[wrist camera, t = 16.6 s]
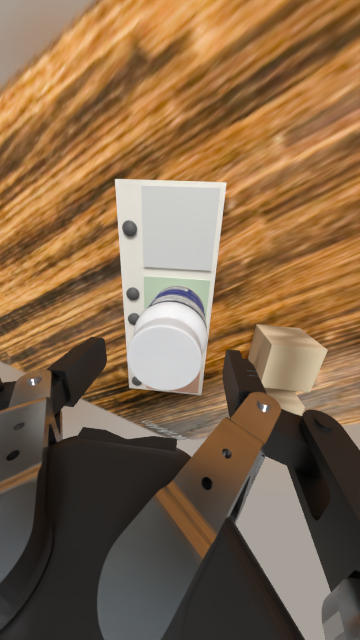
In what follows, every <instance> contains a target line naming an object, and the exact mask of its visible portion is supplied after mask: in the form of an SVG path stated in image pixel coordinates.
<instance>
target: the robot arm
mask: <svg viewBox="0 0 360 640" xmlns="http://www.w3.org/2000/svg"><path fill="white" fill-rule="evenodd" d="M106 362H107V356H106V347H105V340H104V339H103V338H97V337H90V338H89V339H88V340H87V341H85V342H84V343H83V344H80V345H78V346H76V347H74V348H73V349H71V350H70V351H69V352H68V353H66V354H65V355H64V356H63V357H61V358H60V359H59V360H58V361H56V362H55V363H54V364H52V365H51V366H50V367H49V368H47V369H40V370H35V371H32V372H29V373H27V374H25V375H23V376H22V377H20V378H19V379H18V380H17V381H13V382H5V383H2V381H1V379H0V640H305V639H304V638H303V636H302V634H301V632H300V631H299V629H298V627H297V626H296V624H295V622H294V621H293V619H292V618H291V616H290V614H289V612H288V611H287V609H286V607H285V606H284V604H283V602H282V601H281V599H280V598H279V596H278V594H277V593H276V591H275V589H274V588H273V586H272V585H271V583H270V581H269V580H268V578H267V576H266V574H265V573H264V571H263V569H262V568H261V566H260V565H259V563H258V561H257V559H256V558H255V556H254V555H253V553H252V551H251V550H250V548H249V547H248V545H247V543H246V541H245V540H244V538H243V536H242V535H241V533H240V531H239V530H238V528H237V527H236V525H235V524H236V522H237V519H238V517H239V515H240V513H241V510H242V508H243V506H244V504H245V501H246V499H247V496H248V493H249V491H250V489H251V487H252V484H253V482H254V480H255V478H256V476H257V474H258V472H259V469H260V467H261V465H262V463H263V461H264V459H265V456H267V457H269V458H271V459H273V460H275V461H278V462H280V463H282V464H285V465H287V467H288V470H289V473H290V476H291V479H292V481H293V484H294V487H295V490H296V493H297V496H298V499H299V502H300V504H301V507H302V510H303V513H304V516H305V519H306V522H307V524H308V527H309V530H310V533H311V536H312V539H313V542H314V544H315V547H316V550H317V553H318V556H319V558H320V562H321V565H322V567H323V570H324V573H325V576H326V579H327V582H328V584H329V588H330V590H331V593H330V594H329V595H328V596H327V597H326V598H325V600H324V602H323V605H322V624H323V629H324V633H325V639H326V640H360V450H359V449H358V447H357V446H356V445H355V443H354V442H353V441H352V440H351V438H350V437H349V435H348V434H347V433H346V431H345V430H344V428H343V427H342V426H341V425H340V424H339V423H338V422H337V421H336V420H335V419H333V418H332V417H331V416H329V415H327V414H325V413H323V412H320V411H317V410H307V411H305V412H304V414H303V416H300V415H297V414H294V413H291V412H288V411H286V410H284V409H281V406H280V404H279V403H278V402H277V400H275V399H274V398H273V397H272V396H270V395H268V394H267V393H266V390H265V388H264V386H263V384H262V382H261V380H260V377H259V375H258V373H257V372H256V369H255V367H254V365H253V364H252V363H251V362H250V361H249V360H248V359H242V356H241V353H240V351H238V350H227V351H226V355H225V361H224V367H223V383H224V389H225V394H226V400H227V405H228V411H229V416H230V419H229V418H228V417H225V418H224V419H223V420H222V421H221V422H220V424H219V425H218V426H217V427H216V428H215V430H214V431H213V432H212V433H211V434H210V436H209V437H208V438H207V439H206V440H205V442H204V443H203V444H202V445H201V446H200V448H199V449H198V450H197V451H196V453H195V454H194V455H193V456H192V457H190V456H189V455H188V454H187V453H185V452H184V451H182V450H180V449H178V448H176V445H177V439H172V438H164V437H156V436H150V437H143V438H134V439H125V438H122V437H120V436H118V435H115V434H113V433H111V432H109V431H107V430H101V429H94V428H86V427H83V428H82V430H81V432H80V433H79V434H78V436H73V437H69V438H66V439H63V438H62V437H63V435H62V412H61V409H62V408H63V406H69V407H74V405H75V404H76V403H77V402H78V400H79V399H80V398H81V397H82V395H83V394H84V393H85V392H86V390H87V389H88V388H89V387H90V385H91V384H92V383H93V381H94V380H95V379H96V378H97V376H98V375H99V374H100V373H101V371H102V370H103V369H104V367H105V366H106Z"/></svg>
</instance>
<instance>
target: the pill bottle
mask: <svg viewBox="0 0 360 640" xmlns="http://www.w3.org/2000/svg"><path fill="white" fill-rule="evenodd" d="M207 341H208V333H207V326H206V319H205V313H204V307H203V303H202V301H201V299H200V297H199V296H198V295H197V294H196V293H195V292H194V291H193V290H191V289H189V288H187V287H184V286H170V287H167V288H165V289H163V290H162V291H160V292H159V293H158V294H157V295H156V296H155V298H154V299H153V300H152V302H151V303H150V304H149V305H148V307H147V308H146V309H145V310H144V311H143V313H142V314H141V315H140V317H139V318H138V320H137V322H136V324H135V328H134V335H133V338H132V340H131V341H130V343H129V346H128V350H127V362H128V365H129V368H130V370H131V371H132V373H133V374H134V376H135V377H136V378H137V379H138V380H139V381H140V382H142V383H143V384H145V385H147V386H149V387H151V388H154V389H158V390H176V389H180V388H182V387H185V386H187V385H188V384H190V383H191V382H192V381H193V380H194V379H195V378H196V377H197V375H198V374H199V372H200V369H201V366H202V355H203V354H204V352H205V349H206V347H207Z"/></svg>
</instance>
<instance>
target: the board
mask: <svg viewBox="0 0 360 640" xmlns="http://www.w3.org/2000/svg"><path fill="white" fill-rule="evenodd" d="M226 183H227V182H195V181H162V180H130V179H115V187H116V201H117V216H118V230H119V245H120V259H121V274H122V288H123V302H124V317H125V331H126V346H127V350H128V346H129V343H130V341H131V340H132V338H133V335H134V328H135V324H136V322H137V320H138V318H139V317H140V315H141V314H142V313H143V311H144V310H145V309H146V308H147V307H148V305H149V304H150V303H151V302H152V300H153V299H154V298H155V296H156V295H157V294H158V293H159V292H160V291H162V290H163V289H165V288H167V287H170V286H184V287H187V288H189V289H191V290H193V291H194V292H195V293H196V294H197V295H198V296H199V297H200V299H201V301H202V303H203V307H204V313H205V319H206V326H207V333H208V334H209V325H210V317H211V309H212V300H213V292H214V283H215V275H216V267H217V258H218V250H219V241H220V233H221V225H222V216H223V208H224V199H225V191H226ZM207 342H208V341H207ZM206 351H207V347H206V349H205V352H204V354H203V355H202V366H201V369H200V372H199V374H198V375H197V377H196V378H195V379H194V380H193V381H192V382H191V383H190V384H188V385H187V386H185V387H182V388H180V389H176V390H158V389H154V388H151V387H149V386H147V385H145V384H143V383H142V382H140V381H139V380H138V379H137V378H136V377H135V376H134V374H133V373H132V371H131V370H130V368H129V365H128V375H129V388H135V389H145V390H155V391H165V392H175V393H185V394H195V395H201V393H202V384H203V376H204V367H205V359H206Z"/></svg>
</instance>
